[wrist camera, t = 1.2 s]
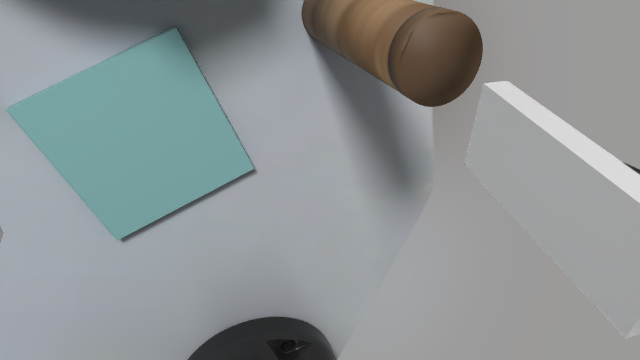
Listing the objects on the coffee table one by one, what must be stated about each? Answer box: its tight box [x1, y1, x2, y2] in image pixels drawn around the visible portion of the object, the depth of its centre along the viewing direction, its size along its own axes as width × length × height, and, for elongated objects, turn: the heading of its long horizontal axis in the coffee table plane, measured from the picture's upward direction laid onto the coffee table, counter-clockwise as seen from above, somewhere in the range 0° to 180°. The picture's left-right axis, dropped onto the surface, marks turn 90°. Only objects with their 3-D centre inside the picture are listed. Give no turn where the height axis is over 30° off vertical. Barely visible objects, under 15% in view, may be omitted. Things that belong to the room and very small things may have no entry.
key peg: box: [302, 0, 483, 107], centre depth 26 cm, size 4×4×14 cm
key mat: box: [6, 26, 254, 240], centre depth 31 cm, size 11×11×1 cm
